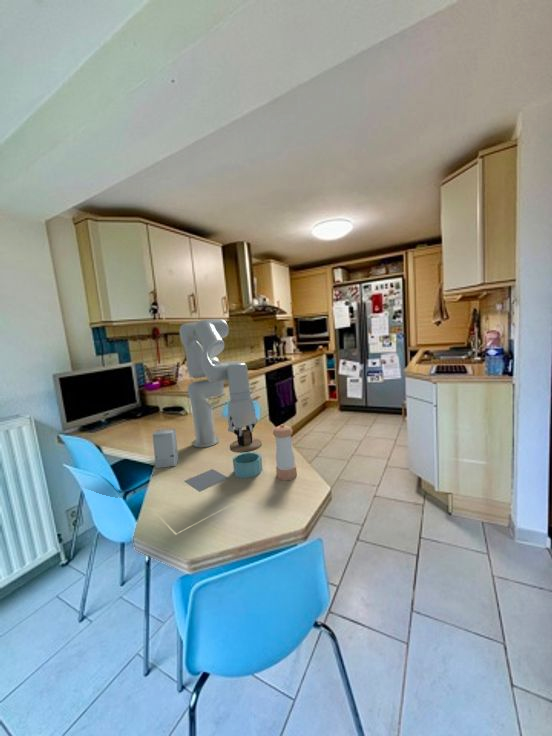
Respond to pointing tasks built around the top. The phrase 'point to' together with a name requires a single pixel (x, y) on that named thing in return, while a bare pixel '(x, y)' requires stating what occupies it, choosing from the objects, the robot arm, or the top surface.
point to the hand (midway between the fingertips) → (245, 443)
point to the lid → (246, 443)
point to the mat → (206, 480)
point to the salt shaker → (284, 453)
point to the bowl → (247, 464)
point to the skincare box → (165, 448)
